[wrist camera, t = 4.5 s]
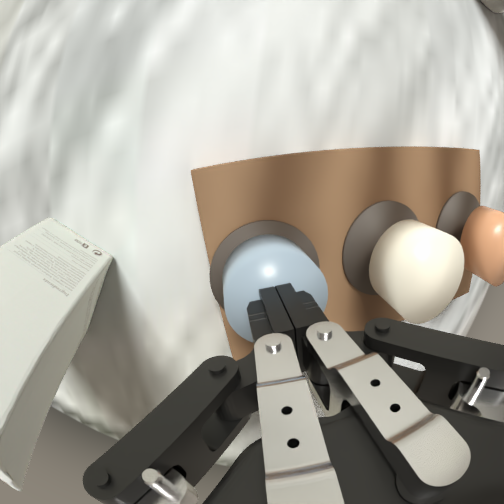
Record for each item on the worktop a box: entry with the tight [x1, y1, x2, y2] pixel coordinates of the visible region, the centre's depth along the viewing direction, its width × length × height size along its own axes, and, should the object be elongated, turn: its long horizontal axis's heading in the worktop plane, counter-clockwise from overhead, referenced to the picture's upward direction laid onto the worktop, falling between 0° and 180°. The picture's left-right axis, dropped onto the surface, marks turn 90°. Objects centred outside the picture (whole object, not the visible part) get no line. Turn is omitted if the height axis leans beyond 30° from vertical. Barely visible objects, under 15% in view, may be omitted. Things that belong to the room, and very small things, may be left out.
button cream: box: [369, 219, 464, 324], centre depth 13 cm, size 5×5×3 cm
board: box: [191, 147, 480, 361], centre depth 17 cm, size 22×13×2 cm, turn 99°
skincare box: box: [0, 218, 113, 491], centre depth 10 cm, size 8×6×15 cm
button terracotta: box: [460, 206, 504, 286], centre depth 14 cm, size 5×5×3 cm
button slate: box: [222, 234, 328, 342], centre depth 14 cm, size 5×5×3 cm
